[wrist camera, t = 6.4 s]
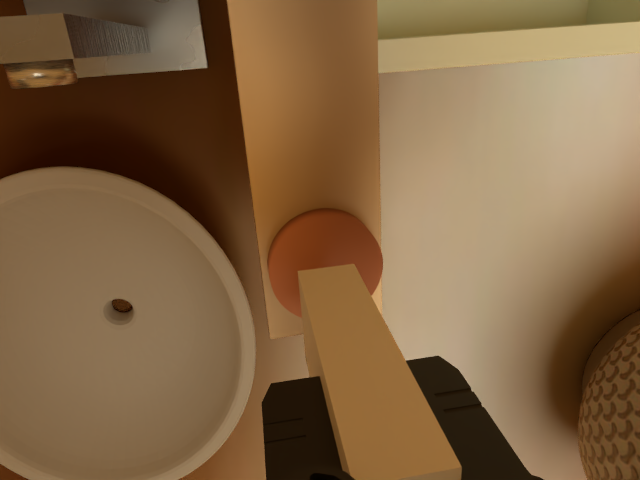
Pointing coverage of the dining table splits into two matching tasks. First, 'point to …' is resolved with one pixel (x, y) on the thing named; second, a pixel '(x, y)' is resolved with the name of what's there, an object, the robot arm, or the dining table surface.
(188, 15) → the stand
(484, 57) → the cream open box
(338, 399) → the robot arm
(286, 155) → the lever
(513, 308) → the dining table surface
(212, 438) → the dish
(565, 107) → the dining table surface
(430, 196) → the dining table surface
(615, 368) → the planter
